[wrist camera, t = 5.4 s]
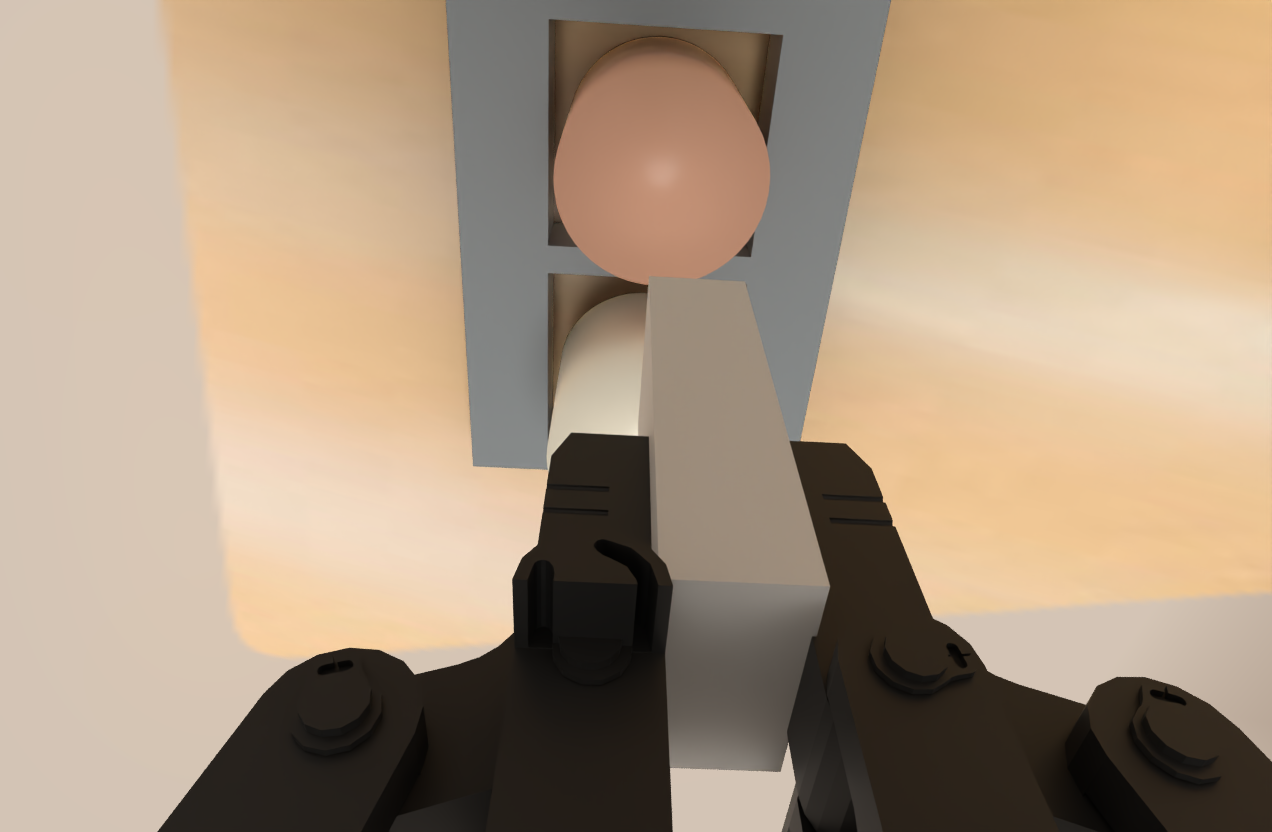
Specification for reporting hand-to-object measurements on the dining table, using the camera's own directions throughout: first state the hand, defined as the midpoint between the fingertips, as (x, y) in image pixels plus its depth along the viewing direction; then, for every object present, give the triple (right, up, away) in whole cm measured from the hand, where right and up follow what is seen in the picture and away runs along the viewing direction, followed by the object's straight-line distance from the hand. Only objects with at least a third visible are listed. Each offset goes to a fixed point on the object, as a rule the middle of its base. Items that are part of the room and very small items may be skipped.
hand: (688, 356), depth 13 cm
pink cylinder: (0, +9, +14) cm, 17 cm away
